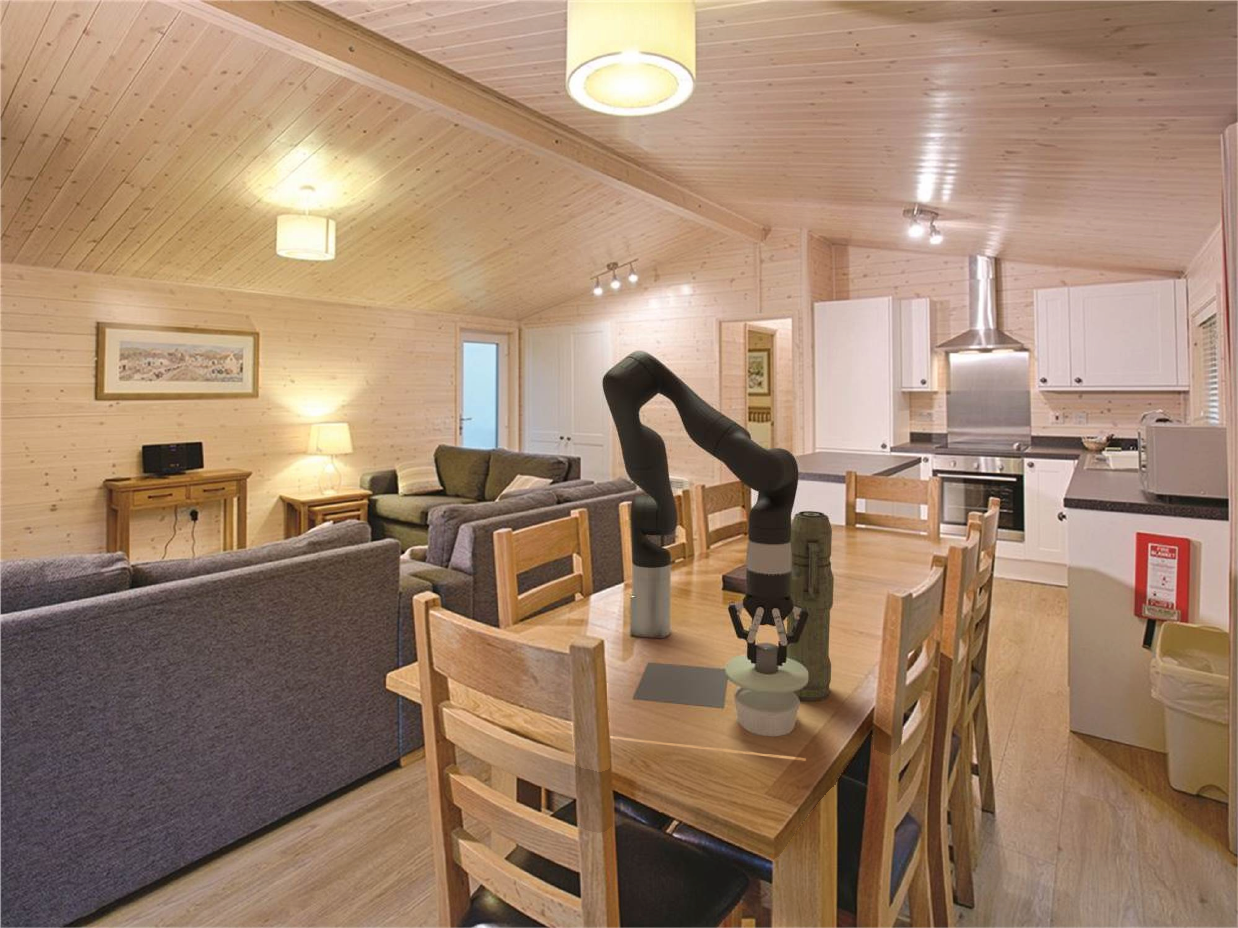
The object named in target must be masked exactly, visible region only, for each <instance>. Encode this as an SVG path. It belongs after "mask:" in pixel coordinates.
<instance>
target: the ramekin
mask: <svg viewBox="0 0 1238 928" xmlns="http://www.w3.org/2000/svg"><path fill="white" fill-rule="evenodd" d="M733 699H734V703H735V709H736V716H737V720H738V724H739V725H740V726H741V727H742V728H743V729H744V730H745V731H747V732H750V733H752V734H754V735H758V736H762V737H781V736H785V735H788V734H789V733H790V732H792V731H793V730H794V729H795V725H796V720H797V715H798V710H799V709H800V700H799V698H798V696H797V695H796V694H795V693H794V692H789V693H780V694H771V693H761V692H755V691H751V690H748V689H744V688H742V687H738V688H737V689H736V690H735V691H734V694H733Z"/></svg>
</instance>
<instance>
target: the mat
mask: <svg viewBox="0 0 1238 928" xmlns="http://www.w3.org/2000/svg"><path fill="white" fill-rule="evenodd" d="M728 680H729V679H728V678H727V677H726V674H725V668H718V667H710V666H709V667H707V666H696V665H695V666H694V665H687V664H686V665H684V664H672V663H662V662H661V663H660V662H650V661H648V662H647V665H646V666H645V668H644V671H643V673H642V676H641V678H640V680H639V683H638V685H637V687H636V688H635V689H636V690H635V691H634V694H633V696H632V700H637V701H648V702H657V703H666V704H667V703H668V704H678V705H685V706H686V705H687V706H699V707H706V708H707V707H708V708H718V709H719V708H720V709H724V708H725V703H726V702H725V701H726V696H727V695H726V694H727V687H728V686H727V685H728Z"/></svg>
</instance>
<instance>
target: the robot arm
mask: <svg viewBox="0 0 1238 928" xmlns="http://www.w3.org/2000/svg"><path fill="white" fill-rule="evenodd" d="M601 381H602V389H603V394H604V397H605V400H606V403H607V406H608V408H609V412H610V414H611V416H612V419H613V422H614V426H615V428H616V432H617V436H618V440H619V444H620V448H621V449H620V450H621V455H622V459H623V463H624V467H625V472H626V473H627V476H628V477H629V479H630V480H631V481H632V482H633V483H634V484H635V485H636V486H637V487H638V488H640V490H642V491H643V492H645V494H647V496H646V495H637V496H635V497H634V498H633V499H632V501H631V505H630V515H629V516H630V531H631V556H632V558H631V562H632V564H631V569H632V570H631V572H632V573H631V575H632V576H631V585H632V586H631V587H632V589H631V590H632V591H631V592H632V593H631V594H630V597H629V599H630V600H629V602H630V604H629V607H630V608H629V609H630V610H629V611H630V612H629V615H630V616H629V618H630V620H629V621H630V623H629V627H630V628H629V630H630V631H629V633H630V635H631V636H636V637H638V638H642V639H651V640H652V639H654V640H655V639H656V640H657V639H663V638H665V637H669V635H670V634H671V597H672V596H671V595H672V594H671V593H672V592H671V590H672V588H671V586H672V585H671V581H672V580H671V577H672V576H671V575H672V572H671V571H672V568H671V567H672V566H671V564H672V563H671V562H672V561H671V560H672V557H671V551H670V550H668V549H667V548H665V547H663V546H661V545H659V544H656V543H655V542H653V541H651V539H649V537H648V536H659V537H662V536H663V537H664V536H670V535H672V534H674V533H675V532H676V529H677V526H678V510H677V504H676V500H675V496H674V492H673V488H672V485H671V480H670V473H669V472H670V471H669V462H668V456H667V449H666V444H665V440H663V438H662V435H660V434H659V433H658V432H656V431H655V430H653V429H652V428H650V427H648V426H647V425H645V424H644V423H642V422H641V419H640V411H641V409H642V407H644V406H645V405H646V404H647V403H648V402H649V401H651V400H652V399H653V398H655V396H657V395H658V394H659V395H662V396H663V397H665V398H667V399H668V400H670V402H672V404H673V405H674V406H675V408H676V410H677V412H678V415H679V417H680V419H681V422H682V425H683V428H684V430H685V432H686V433H687V435H688V437H689V439H691V440H692V441H693V443H694V444H696V445H697V446H698V447H700V448H701V450H702V449H703V450H704V451H705V452H707V453H708V454H709V455H711V456H713V457H714V458H715V459H717V460H718V461H720V462H722V463H723V464H724V465H725V466H726V468H728V469H729V470H730V472H731V473H732V474H733V475H734V476H735V477H736V478H737V479H739V482H740V481H741V483H743V484H744V485H745V486H746V487H748V488H750V489H752V490H753V491H756V492H757V500H756V503H755V504H754V505H753V506H752V507H751V509H750V511H749V514H748V540H747V548H746V559H745V562H746V563H745V564H746V566H745V568H746V570H745V571H746V572H745V573H746V574H745V595H744V597H743V599H742V601H741V600H740V601H738V602H735V601H729V603H728V608H727V609H728V613H729V616H730V619H731V622H732V626H733V628H734V633H735V635H736V638H737V639H739V640H741V639H742V640H744V641H746V654H747V658H748V660H751V663H752V664H755V645H756V636H757V633H758V631H759V627H760V626H767V625H769V626H771V627H775V628H776V629H775V630H776V632H777V636H778V639H779V640H778V644H777V646H778V666H782V663H786V661H787V645H788V644H790V643H797V642H798V641H799V638H800V636H801V633H802V631H803V628H804V626H805V623H806V621H807V618H808V616H809V613H808V609H807V607H799V606H797V605H794V604H793V601H792V599H791V572H792V550H791V524H792V513H793V508H794V506H795V500H796V495H797V489H798V485H799V466H798V463H797V459H796V458H795V456H794V455H793V454H792V452H791V451H789V450H788V449H785V448H782V447H777V448H776V447H774V448H769V449H766V448H764V447H762V446H761V445H760V444H758V443H757V442H755V441H754V440H753V439H752V437H751V433H750V432H749V431H748V430H747V429H746V428H745V427H744V426H742V425H741V424H739V423H738V422H736V421H734V420H733V419H732V418H730V417H728V416H726V415H725V414H723V413H722V412H720V411H718V410H717V409H716V408H714V407H713V406H711V405H710V404H709V403H708V402H706V401H705V400H704V399H702V397H700V396H699V395H698V394H697V393H696V392H695V391H694V390H693V389H691V388H690V387H689V386H688V384H686V383H685V382H684V381H683V380H682V379H681V378H679V377H678V375H676V374H675V373H674V372H673V371H671V370H670V369H669V368H668V367H667V366H666V364H664V363H662V362H661V361H660V360H659V359H658V358H656V357H655V356H653V355H652V354H651V353H648V352H646V351H644V350H635V351H633V352H631V353H629V354H627V356H626V357H624V358H623V359H621V360H619V362H618V363H616V364H615V365H614V366H612V367H611V368H610V369H609V370H607V372H606V373H605V374H604V376H603V377H602V380H601ZM743 609H745V611H746V613H747V614H748V615H749V617H750V618H751V621H750V625H749V627H748V630H747V629H745V628H744V625H743V622H742V619H741V617H740V616H741V615H742V611H743ZM791 611H793V612H794V617H795V619H796V622H795V624H794V627H793V629H792V632H791V633H788V634H787V630H786V628H785V622H784V621H785V620H787V616H788V615H789V614H790V613H791Z"/></svg>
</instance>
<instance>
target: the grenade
mask: <svg viewBox="0 0 1238 928" xmlns="http://www.w3.org/2000/svg"><path fill="white" fill-rule="evenodd" d="M832 535H833V528H832V525H831V522H830V518H829V516H828V515H827V514H825V513H824V512H820V511H813V510H812V511H811V510H810V511H809V510H805V511H804V510H802V511H799V512H797V513H795V514H794V516H793V519H792V520H791V550H792V572H791V599H792V601H793V604H794V605H797V606H799V607H807V609H808V613H809V616H808V618H807V621H806V623H805V626H804V628H803V631H802V633H801V636H800V638H799V641H798V642H797V643H790V644H788V645H787V658H789V659H792V660H795V661H797V662H799V663H800V664H802V665H803V666H804V667H805V668H806V669H807V671H808V683H807V685H806V686H805V687H803V688H802V689H800V690H797V691H794V693H795V694H796V695H797V696H798V698H799V701H806V702H819V701H820V700H821V701H823V699H824V700H826V699H828V698H829V696H830V691H831V690H830V684H831V681H832V680H831V679H832V663H831V660H830V655H829V652H830V623H831V619H830V618H831V610H832V608H833V605H834V581H835V579H834V574H833V571H832V562H831V556H832V542H833V541H832V540H833V539H832V538H833V537H832ZM795 622H796V619H795V617H794V612H793V611H791V613H790V614H789V615H788V616H787V617H786V634H788V633H791V632H792V629H793V627H794V624H795Z"/></svg>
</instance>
